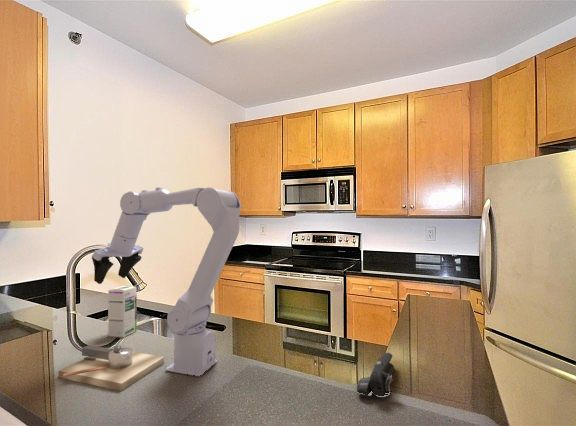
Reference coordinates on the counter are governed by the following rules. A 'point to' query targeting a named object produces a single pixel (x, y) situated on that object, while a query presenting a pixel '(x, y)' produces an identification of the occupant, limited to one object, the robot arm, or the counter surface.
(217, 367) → the counter surface
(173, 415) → the counter surface
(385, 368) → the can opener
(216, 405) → the counter surface
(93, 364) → the cutting board
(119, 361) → the grey bar with knob
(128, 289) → the syrup box
